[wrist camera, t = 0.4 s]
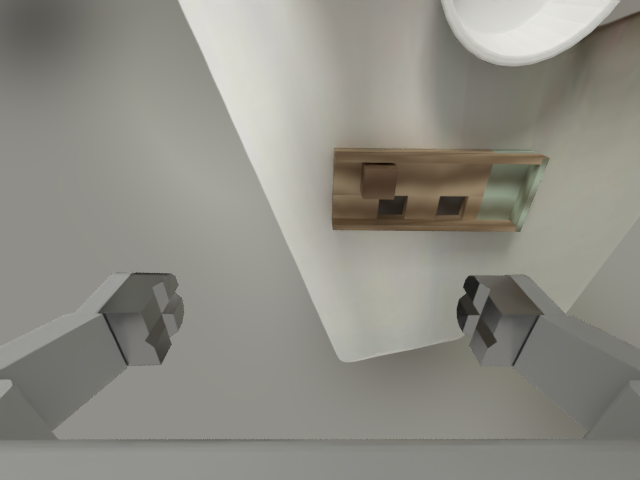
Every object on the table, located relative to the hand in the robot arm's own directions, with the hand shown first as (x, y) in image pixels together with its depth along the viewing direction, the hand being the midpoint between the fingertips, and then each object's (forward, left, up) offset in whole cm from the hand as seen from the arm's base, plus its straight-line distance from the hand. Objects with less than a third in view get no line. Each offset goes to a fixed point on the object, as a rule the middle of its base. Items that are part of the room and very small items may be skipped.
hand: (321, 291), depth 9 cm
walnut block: (+11, +10, -43) cm, 45 cm away
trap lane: (+14, +19, -45) cm, 51 cm away
